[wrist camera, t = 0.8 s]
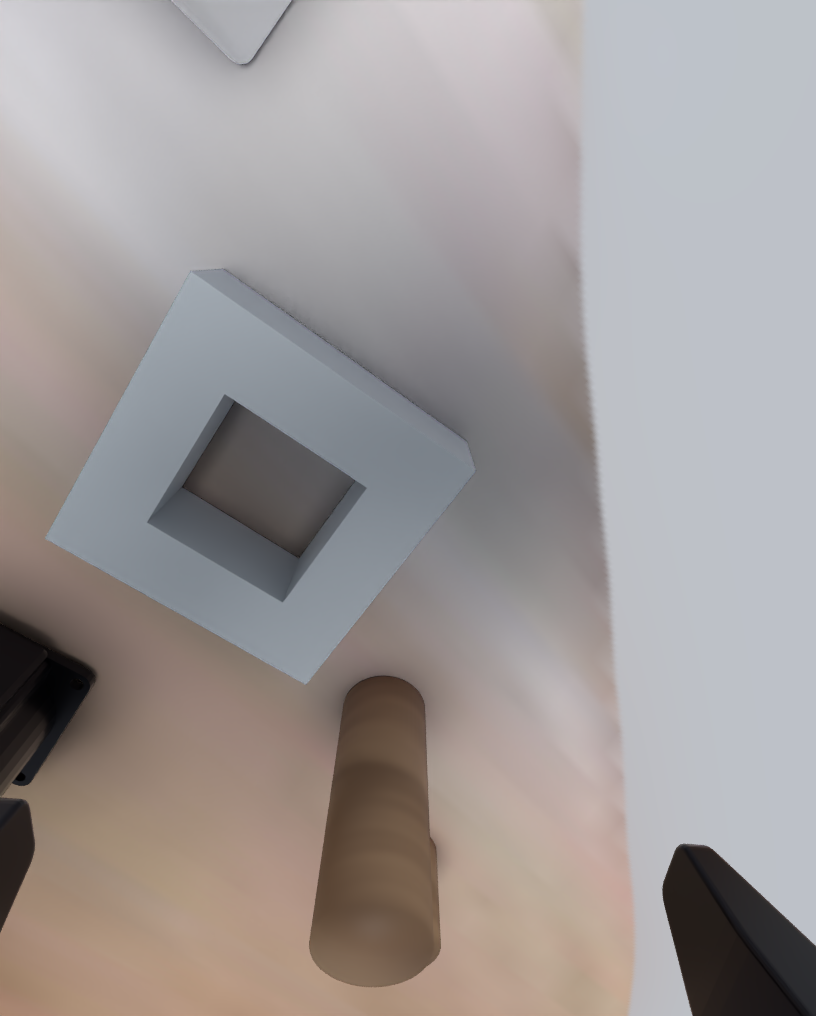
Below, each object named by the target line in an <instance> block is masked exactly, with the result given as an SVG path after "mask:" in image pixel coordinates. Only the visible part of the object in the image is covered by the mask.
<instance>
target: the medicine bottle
mask: <svg viewBox="0 0 816 1016" xmlns="http://www.w3.org/2000/svg"><path fill="white" fill-rule="evenodd" d="M171 1H172V2H173V3H174V4H175V5H176V6H177V7H178V8H179V9H180V10H181V11H182V12H183V13H184V14H185V15H186V16H187V17H188V18H189V19H190V20H191V21H192V22H193V23H194V24H195V25H196V26H197V27H198V28H199V29H200V30H201V31H202V32H203V33H204V34H205V35H206V36H207V37H208V38H209V39H210V40H211V41H212V42H213V43H214V44H215V45H216V46H217V47H218V48H219V49H220V50H221V51H222V52H223V53H224V54H225V55H226V56H227V57H228V58H229V59H230V60H232V61H233V62H235V63H237V64H247V63H248V62H249V61H250V60H252V58H253V57H254V55H255V54H256V52H257V51H258V49H259V48H260V46H261V45H262V43H263V42H264V40H265V39H266V38H267V36H268V35H269V33H270V32H271V30H272V29H273V27H274V26H275V24H276V23H277V21H278V20H279V18H280V17H281V15H282V14H283V12H284V11H285V9H286V8H287V7H288V5H289V4H290V2H291V1H292V0H171Z"/></svg>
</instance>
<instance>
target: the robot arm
mask: <svg viewBox="0 0 816 1016" xmlns="http://www.w3.org/2000/svg"><path fill="white" fill-rule="evenodd" d="M76 679H78V680H80V681H82V682H83V683H80V682H78V681H77V680H76ZM94 683H95V676H94V674H93V673H92V672H91V671H90V670H88V669H87V668H85V667H83V666H81V665H79V664H77V663H75V662H73V661H72V660H70V659H68V658H66V657H64V656H62V655H60V654H58V653H56V652H54V651H52V650H50V649H48V648H47V647H45V646H43V645H41V644H39V643H37V642H35V641H33V640H31V639H29V638H27V637H25V636H24V635H22V634H20V633H18V632H16V631H14V630H12V629H10V628H8V627H6V626H4V625H2V624H0V932H1V930H2V928H3V925H4V923H5V921H6V918H7V916H8V914H9V912H10V909H11V907H12V905H13V903H14V900H15V898H16V896H17V893H18V891H19V889H20V887H21V884H22V882H23V880H24V878H25V875H26V873H27V871H28V868H29V866H30V864H31V861H32V858H33V855H34V850H35V839H34V832H33V825H32V819H31V812H30V807H29V804H28V803H27V801H26V800H23V799H13V798H1V797H2V795H3V794H4V793H5V791H6V790H7V789H8V787H9V786H10V785H11V783H13V784H15V785H19V786H25V785H28V784H29V783H30V782H31V781H32V780H33V778H34V777H35V776H36V774H37V773H38V771H39V770H40V768H41V766H42V765H43V763H44V762H45V760H46V759H47V757H48V755H49V754H50V752H51V751H52V749H53V748H54V746H55V744H56V743H57V741H58V740H59V738H60V737H61V735H62V734H63V732H64V730H65V729H66V727H67V726H68V724H69V723H70V721H71V719H72V718H73V716H74V715H75V713H76V712H77V710H78V709H79V707H80V705H81V704H82V702H83V701H84V699H85V698H86V696H87V694H88V693H89V691H90V690H91V688H92V687H93V685H94ZM662 890H663V901H664V905H665V910H666V913H667V918H668V921H669V925H670V929H671V933H672V937H673V941H674V945H675V949H676V953H677V957H678V961H679V965H680V969H681V973H682V976H683V981H684V984H685V989H686V992H687V996H688V1000H689V1004H690V1008H691V1012H692V1015H693V1016H816V946H815V945H814V944H813V943H812V942H811V941H810V940H809V939H808V938H807V937H806V936H805V935H803V934H802V933H801V932H800V931H799V930H798V929H797V928H796V927H795V926H794V925H793V924H792V923H791V922H790V921H789V920H788V919H786V918H785V917H784V916H783V915H782V914H781V913H780V912H779V911H778V910H777V909H776V908H775V907H774V906H773V905H771V903H769V902H768V901H767V900H766V899H765V898H764V897H763V896H762V895H761V894H760V893H759V892H758V891H757V890H756V889H755V888H753V887H752V886H751V885H750V884H749V883H748V882H747V881H746V880H745V879H744V878H743V877H742V876H741V875H739V874H738V873H737V872H736V871H735V870H734V869H733V868H732V867H731V866H730V865H729V864H728V863H727V862H726V861H725V860H724V859H723V858H721V857H720V856H719V855H718V854H717V853H716V852H715V851H714V850H713V849H711V848H710V847H708V846H704V845H694V844H680V845H679V846H678V847H677V848H676V850H675V852H674V855H673V858H672V860H671V863H670V866H669V868H668V871H667V874H666V877H665V879H664V883H663V889H662Z"/></svg>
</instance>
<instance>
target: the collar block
mask: <svg viewBox="0 0 816 1016" xmlns="http://www.w3.org/2000/svg"><path fill="white" fill-rule="evenodd" d="M234 401H236V402H238V403H239V404H241V405H242V406H244V407H245V408H247V409H248V410H250V411H251V412H253V413H254V414H256V415H257V416H259V417H260V418H262V419H263V420H265V421H266V422H268V423H269V424H271V425H273V426H274V427H276V428H277V429H279V430H280V431H282V432H283V433H285V434H286V435H288V436H289V437H291V438H292V439H294V440H295V441H297V442H298V443H300V444H301V445H303V446H304V447H306V448H307V449H309V450H310V451H312V452H313V453H315V454H316V455H318V456H320V457H321V458H323V459H324V460H326V461H327V462H329V463H330V464H332V465H333V466H335V467H336V468H338V469H339V470H341V471H342V472H344V473H345V474H347V475H348V476H350V477H351V478H353V479H354V480H355V482H354V483H353V485H352V486H351V487H350V489H349V490H348V491H347V493H346V494H345V496H344V497H343V498H342V500H341V501H340V503H339V504H338V505H337V507H336V508H335V509H334V511H333V512H332V514H331V515H330V516H329V518H328V519H327V520H326V522H325V523H324V525H323V526H322V527H321V529H320V530H319V532H318V533H317V534H316V536H315V537H314V538H313V540H312V541H311V543H310V544H309V545H308V547H307V548H306V550H305V551H304V552H303V554H302V555H301V556H300V558H297V557H296V556H294V555H292V554H291V553H289V552H287V551H286V550H284V549H282V548H281V547H279V546H278V545H276V544H274V543H273V542H271V541H269V540H268V539H266V538H264V537H263V536H261V535H260V534H258V533H256V532H255V531H253V530H251V529H250V528H248V527H247V526H245V525H243V524H242V523H240V522H238V521H237V520H235V519H233V518H232V517H230V516H229V515H227V514H225V513H224V512H222V511H220V510H219V509H217V508H215V507H214V506H212V505H211V504H209V503H207V502H206V501H204V500H202V499H201V498H199V497H197V496H196V495H194V494H193V493H191V492H189V491H188V490H186V489H184V488H183V487H182V486H183V484H184V483H185V481H186V480H187V478H188V476H189V475H190V473H191V471H192V470H193V468H194V467H195V465H196V463H197V462H198V460H199V458H200V457H201V455H202V453H203V452H204V450H205V449H206V447H207V445H208V444H209V442H210V440H211V439H212V437H213V436H214V434H215V432H216V431H217V429H218V427H219V426H220V424H221V423H222V421H223V419H224V418H225V416H226V414H227V413H228V411H229V410H230V408H231V406H232V405H233V403H234ZM475 472H476V469H475V465H474V462H473V459H472V456H471V453H470V450H469V447H468V443H467V441H466V440H464V439H463V438H461V437H460V436H459V435H457V434H456V433H454V432H453V431H451V430H450V429H449V428H447V427H446V426H444V425H443V424H442V423H440V422H439V421H437V420H436V419H435V418H433V417H432V416H430V415H429V414H428V413H426V412H425V411H423V410H422V409H420V408H419V407H418V406H416V405H415V404H413V403H412V402H411V401H409V400H408V399H406V398H405V397H404V396H402V395H401V394H399V393H398V392H397V391H395V390H394V389H392V388H391V387H389V386H388V385H387V384H385V383H384V382H382V381H381V380H380V379H378V378H377V377H375V376H374V375H373V374H371V373H370V372H368V371H367V370H365V369H364V368H363V367H361V366H360V365H358V364H357V363H356V362H354V361H353V360H351V359H350V358H349V357H347V356H346V355H344V354H343V353H342V352H340V351H339V350H337V349H336V348H334V347H333V346H332V345H330V344H329V343H327V342H326V341H325V340H323V339H322V338H320V337H319V336H318V335H316V334H315V333H313V332H312V331H311V330H309V329H308V328H306V327H305V326H303V325H302V324H301V323H299V322H298V321H296V320H295V319H294V318H292V317H291V316H289V315H288V314H287V313H285V312H284V311H282V310H281V309H280V308H278V307H277V306H275V305H274V304H272V303H271V302H270V301H268V300H267V299H265V298H264V297H263V296H261V295H260V294H258V293H257V292H256V291H254V290H253V289H251V288H250V287H248V286H247V285H246V284H244V283H243V282H241V281H240V280H239V279H237V278H236V277H234V276H233V275H232V274H230V273H229V272H227V271H226V270H225V269H215V270H199V271H190V273H189V275H188V276H187V278H186V280H185V282H184V284H183V286H182V287H181V289H180V291H179V293H178V295H177V297H176V298H175V300H174V302H173V304H172V306H171V308H170V309H169V311H168V313H167V315H166V317H165V319H164V320H163V322H162V324H161V326H160V328H159V330H158V331H157V333H156V335H155V337H154V339H153V341H152V343H151V344H150V346H149V348H148V350H147V352H146V354H145V355H144V357H143V359H142V361H141V363H140V365H139V366H138V368H137V370H136V372H135V374H134V376H133V377H132V379H131V381H130V383H129V385H128V387H127V388H126V390H125V392H124V394H123V396H122V398H121V400H120V401H119V403H118V405H117V407H116V409H115V411H114V412H113V414H112V416H111V418H110V420H109V422H108V423H107V425H106V427H105V429H104V431H103V433H102V434H101V436H100V438H99V440H98V442H97V444H96V445H95V447H94V449H93V451H92V453H91V455H90V456H89V458H88V460H87V462H86V464H85V466H84V468H83V469H82V471H81V473H80V475H79V477H78V479H77V480H76V482H75V484H74V486H73V488H72V490H71V491H70V493H69V495H68V497H67V499H66V501H65V502H64V504H63V506H62V508H61V510H60V512H59V513H58V515H57V517H56V519H55V521H54V523H53V524H52V526H51V528H50V530H49V532H48V534H47V536H46V537H45V539H47V540H48V541H50V542H52V543H54V544H56V545H57V546H59V547H61V548H63V549H64V550H66V551H68V552H70V553H72V554H73V555H75V556H77V557H79V558H81V559H82V560H84V561H86V562H88V563H89V564H91V565H93V566H95V567H97V568H98V569H100V570H102V571H104V572H105V573H107V574H109V575H111V576H113V577H114V578H116V579H118V580H120V581H121V582H123V583H125V584H127V585H129V586H130V587H132V588H134V589H136V590H138V591H139V592H141V593H143V594H145V595H146V596H148V597H150V598H152V599H154V600H155V601H157V602H159V603H161V604H162V605H164V606H166V607H168V608H170V609H171V610H173V611H175V612H177V613H178V614H180V615H182V616H184V617H186V618H187V619H189V620H191V621H193V622H195V623H196V624H198V625H200V626H202V627H203V628H205V629H207V630H209V631H211V632H212V633H214V634H216V635H218V636H219V637H221V638H223V639H225V640H227V641H228V642H230V643H232V644H234V645H235V646H237V647H239V648H241V649H243V650H244V651H246V652H248V653H250V654H252V655H253V656H255V657H257V658H259V659H260V660H262V661H264V662H266V663H268V664H269V665H271V666H273V667H275V668H276V669H278V670H280V671H282V672H284V673H285V674H287V675H289V676H291V677H293V678H294V679H296V680H298V681H300V682H301V683H303V684H305V685H306V684H307V683H308V682H309V680H310V679H311V678H312V676H313V675H314V674H315V673H316V671H317V670H318V669H319V668H320V666H321V665H322V664H323V663H324V661H325V660H326V659H327V658H328V656H329V655H330V654H331V653H332V651H333V650H334V649H335V648H336V646H337V645H338V644H339V643H340V641H341V640H342V639H343V638H344V636H345V635H346V634H347V633H348V631H349V630H350V629H351V628H352V626H353V625H354V624H355V622H356V621H357V620H358V619H359V617H360V616H361V615H362V614H363V612H364V611H365V610H366V609H367V607H368V606H369V605H370V604H371V602H372V601H373V600H374V599H375V597H376V596H377V595H378V594H379V592H380V591H381V590H382V589H383V587H384V586H385V585H386V584H387V582H388V581H389V580H390V579H391V577H392V576H393V575H394V573H395V572H396V571H397V570H398V568H399V567H400V566H401V565H402V563H403V562H404V561H405V560H406V558H407V557H408V556H409V555H410V553H411V552H412V551H413V550H414V548H415V547H416V546H417V545H418V543H419V542H420V541H421V540H422V538H423V537H424V536H425V535H426V533H427V532H428V531H429V530H430V528H431V527H432V526H433V525H434V523H435V522H436V521H437V519H438V518H439V517H440V516H441V514H442V513H443V512H444V511H445V509H446V508H447V507H448V506H449V504H450V503H451V502H452V501H453V499H454V498H455V497H456V496H457V494H458V493H459V492H460V491H461V489H462V488H463V487H464V486H465V484H466V483H467V482H468V481H469V479H470V478H471V477H472V476H473V474H474V473H475Z"/></svg>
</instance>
